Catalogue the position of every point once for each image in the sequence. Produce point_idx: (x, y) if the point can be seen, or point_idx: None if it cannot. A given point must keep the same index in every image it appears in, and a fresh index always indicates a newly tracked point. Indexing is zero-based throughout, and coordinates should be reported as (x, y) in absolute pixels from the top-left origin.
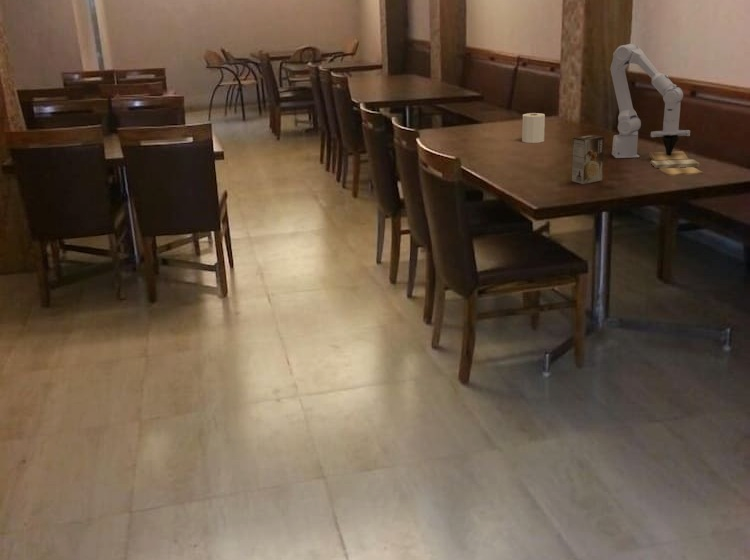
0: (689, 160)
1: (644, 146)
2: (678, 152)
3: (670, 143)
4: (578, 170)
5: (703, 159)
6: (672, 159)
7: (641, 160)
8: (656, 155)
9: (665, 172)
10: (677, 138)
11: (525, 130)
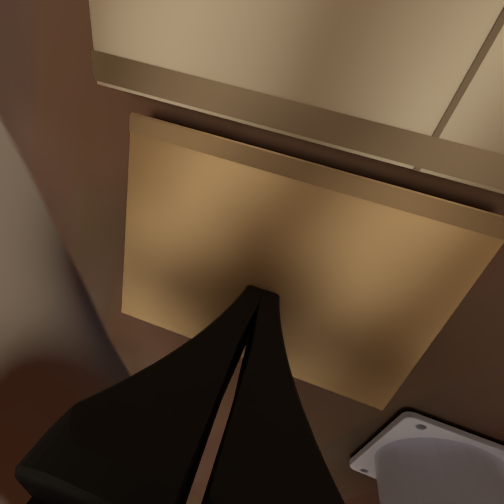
0: None
1: None
2: (160, 308)
3: (238, 393)
4: None
5: (34, 177)
6: (334, 128)
7: (471, 357)
8: (379, 335)
9: None
10: (57, 444)
11: None
